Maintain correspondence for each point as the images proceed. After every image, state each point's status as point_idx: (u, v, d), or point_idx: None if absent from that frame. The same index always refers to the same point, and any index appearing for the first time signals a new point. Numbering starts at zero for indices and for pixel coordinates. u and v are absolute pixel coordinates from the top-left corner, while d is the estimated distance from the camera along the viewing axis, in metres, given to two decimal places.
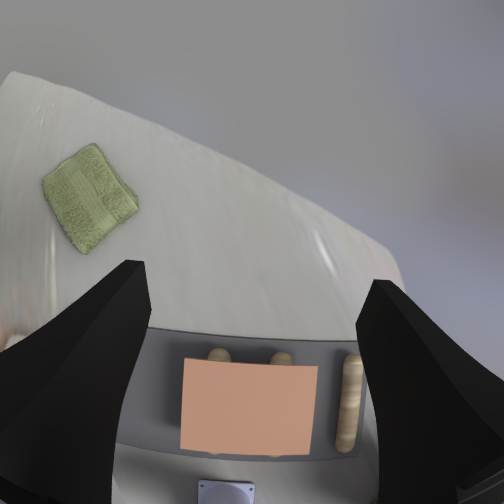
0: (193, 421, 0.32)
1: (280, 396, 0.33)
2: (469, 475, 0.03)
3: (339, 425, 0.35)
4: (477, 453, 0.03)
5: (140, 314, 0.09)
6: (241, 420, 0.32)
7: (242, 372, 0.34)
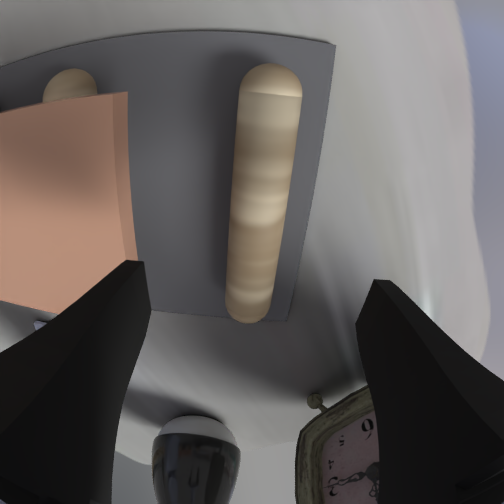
0: None
1: (38, 188, 0.11)
2: (469, 475, 0.03)
3: (227, 260, 0.17)
4: (477, 453, 0.03)
5: (140, 314, 0.09)
6: None
7: None
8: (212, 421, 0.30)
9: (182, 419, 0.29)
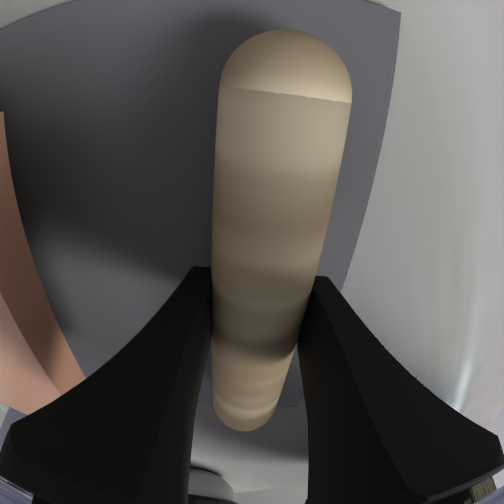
0: None
1: None
2: None
3: (212, 366, 0.10)
4: (377, 483, 0.03)
5: (209, 322, 0.09)
6: None
7: None
8: (207, 477, 0.24)
9: None
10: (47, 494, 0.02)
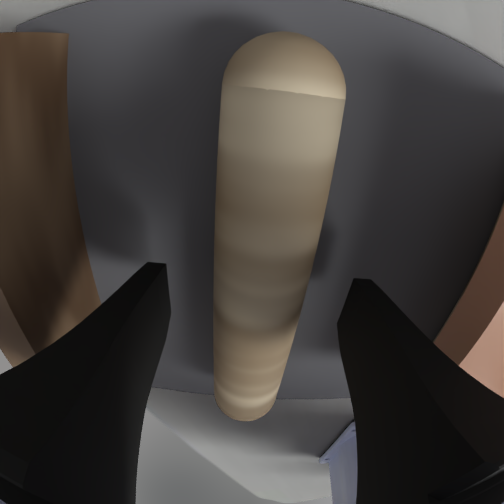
0: None
1: None
2: (442, 486, 0.03)
3: (213, 352, 0.11)
4: (450, 463, 0.03)
5: (162, 317, 0.09)
6: None
7: None
8: None
9: None
10: None
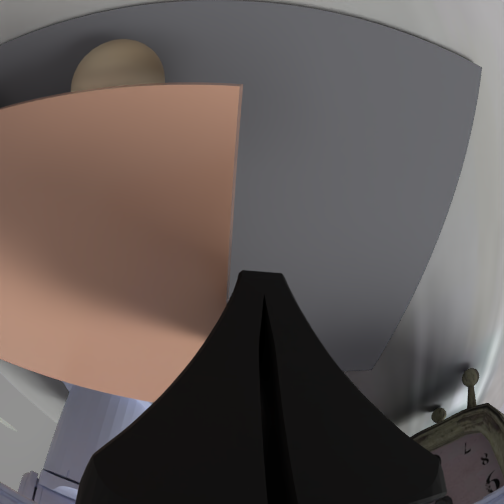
0: None
1: (71, 242, 0.07)
2: None
3: None
4: (284, 494, 0.03)
5: None
6: (8, 307, 0.09)
7: None
8: None
9: None
10: None
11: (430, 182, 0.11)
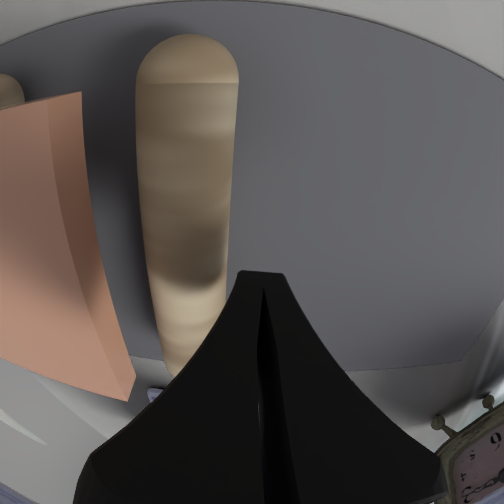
0: None
1: None
2: None
3: None
4: (286, 494, 0.03)
5: None
6: None
7: None
8: None
9: None
10: None
11: None
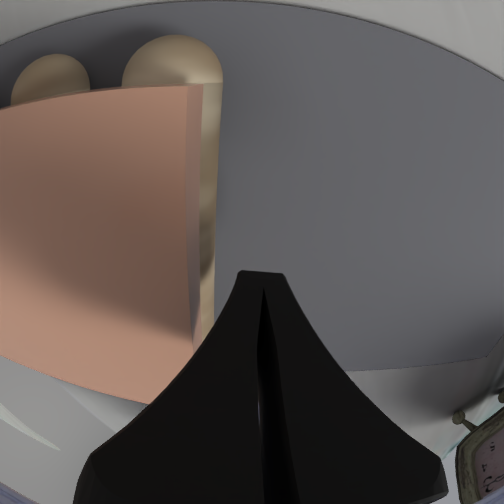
0: None
1: (44, 241, 0.07)
2: None
3: None
4: (286, 493, 0.03)
5: None
6: None
7: None
8: None
9: None
10: None
11: None
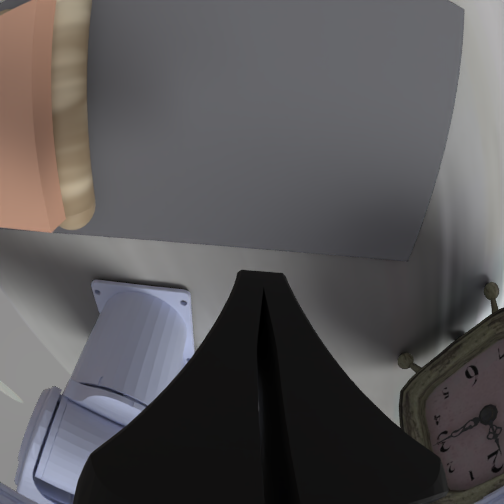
0: None
1: None
2: None
3: None
4: (286, 493, 0.03)
5: None
6: None
7: None
8: None
9: None
10: None
11: (438, 79, 0.13)
